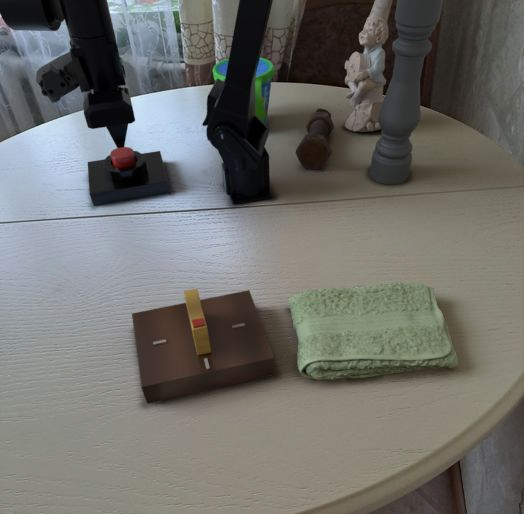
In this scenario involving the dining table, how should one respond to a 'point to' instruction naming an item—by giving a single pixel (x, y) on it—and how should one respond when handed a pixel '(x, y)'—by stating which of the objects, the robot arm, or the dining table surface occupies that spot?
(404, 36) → the candle holder
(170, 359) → the panel
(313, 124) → the bolt
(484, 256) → the dining table surface
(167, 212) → the dining table surface
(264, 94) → the snack cup
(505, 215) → the dining table surface
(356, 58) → the figurine
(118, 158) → the release button
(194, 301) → the lock knob
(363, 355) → the washcloth
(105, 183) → the block
